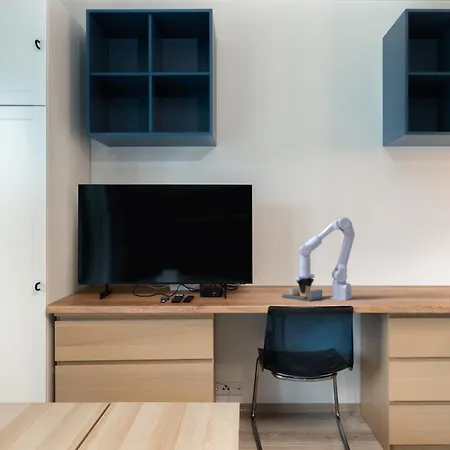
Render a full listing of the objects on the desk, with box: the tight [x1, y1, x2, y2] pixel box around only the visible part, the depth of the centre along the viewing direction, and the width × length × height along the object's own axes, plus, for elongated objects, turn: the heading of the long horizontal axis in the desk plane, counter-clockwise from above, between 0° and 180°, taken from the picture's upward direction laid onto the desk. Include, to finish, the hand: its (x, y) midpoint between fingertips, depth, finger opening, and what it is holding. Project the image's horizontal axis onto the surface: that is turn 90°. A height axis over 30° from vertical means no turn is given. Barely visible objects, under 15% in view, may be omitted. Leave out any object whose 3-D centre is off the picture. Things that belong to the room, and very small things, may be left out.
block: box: [300, 286, 311, 297], centre depth 237 cm, size 4×4×5 cm
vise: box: [281, 288, 325, 302], centre depth 238 cm, size 18×13×5 cm
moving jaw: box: [288, 286, 300, 296], centre depth 241 cm, size 3×10×4 cm, turn 134°
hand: (305, 292), depth 237 cm, fingers closed on block, 4 cm apart
